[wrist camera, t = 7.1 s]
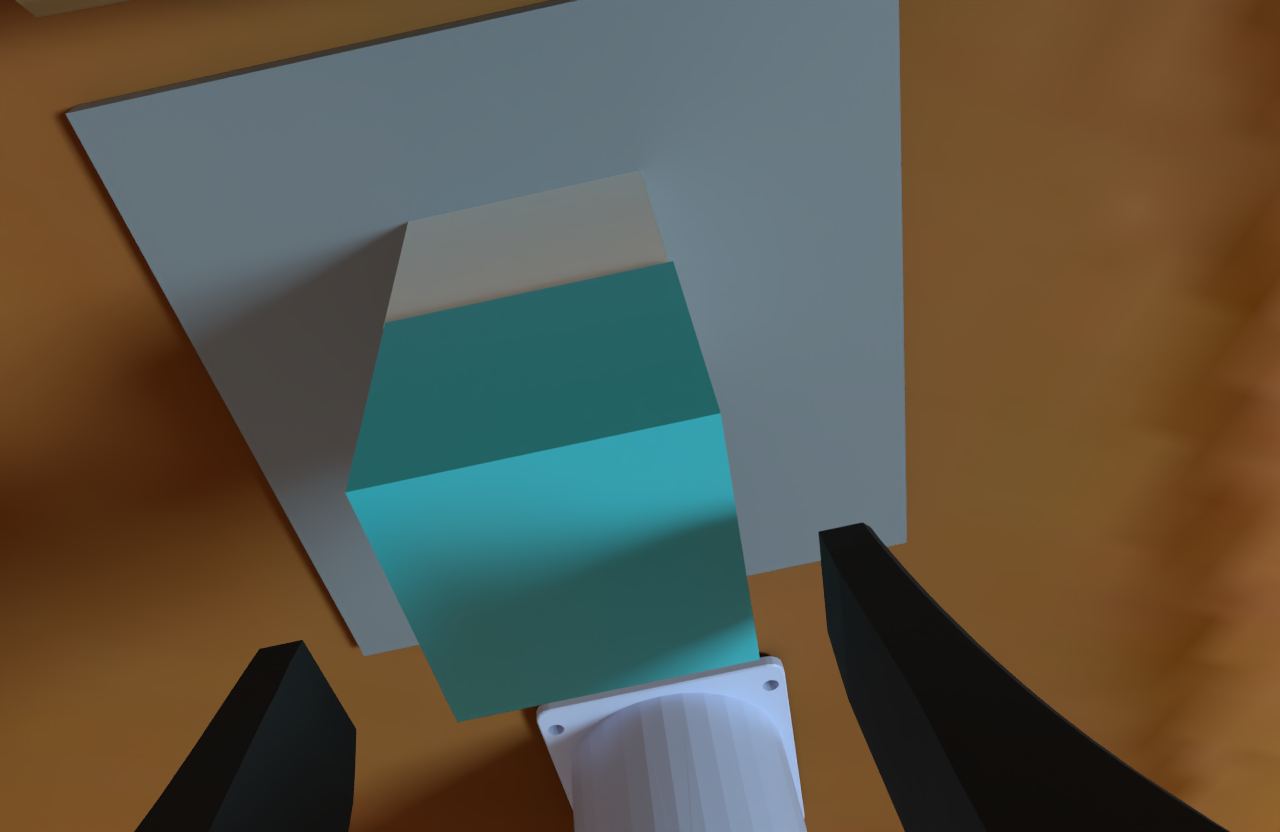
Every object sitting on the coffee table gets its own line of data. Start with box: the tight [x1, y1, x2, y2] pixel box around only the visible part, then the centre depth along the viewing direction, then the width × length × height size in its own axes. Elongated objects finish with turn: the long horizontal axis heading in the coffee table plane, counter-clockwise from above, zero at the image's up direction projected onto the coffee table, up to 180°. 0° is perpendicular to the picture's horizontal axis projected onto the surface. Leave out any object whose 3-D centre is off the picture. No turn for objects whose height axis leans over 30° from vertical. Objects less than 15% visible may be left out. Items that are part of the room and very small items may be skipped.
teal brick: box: [345, 261, 760, 722], centre depth 15 cm, size 5×5×4 cm
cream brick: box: [383, 170, 669, 329], centre depth 19 cm, size 5×5×4 cm
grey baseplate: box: [66, 0, 907, 656], centre depth 22 cm, size 16×16×1 cm
